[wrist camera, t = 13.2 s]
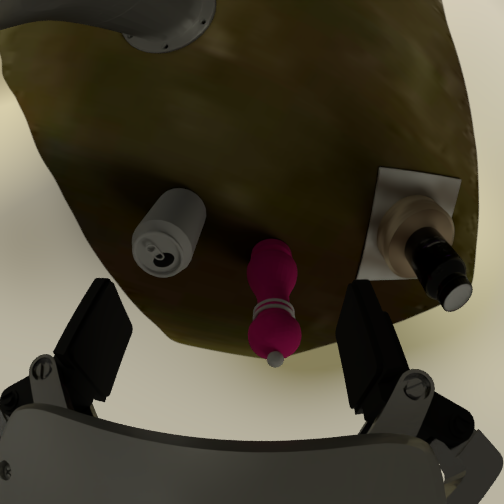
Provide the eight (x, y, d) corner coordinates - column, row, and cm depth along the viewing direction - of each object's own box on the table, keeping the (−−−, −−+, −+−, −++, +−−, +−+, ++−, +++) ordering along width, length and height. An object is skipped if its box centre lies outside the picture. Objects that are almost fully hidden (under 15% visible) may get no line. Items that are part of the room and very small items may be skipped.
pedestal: (379, 166, 34) (392, 177, 31) (459, 179, 34) (475, 190, 30) (356, 279, 46) (363, 296, 42) (428, 276, 45) (438, 292, 41)
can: (176, 239, 42) (153, 290, 32) (149, 200, 38) (114, 244, 28) (216, 219, 40) (202, 269, 30) (189, 176, 36) (162, 215, 26)
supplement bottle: (426, 216, 33) (471, 266, 23) (445, 241, 35) (484, 291, 25) (394, 247, 36) (429, 305, 26) (415, 270, 39) (447, 324, 29)
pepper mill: (298, 237, 41) (318, 347, 25) (290, 275, 45) (301, 383, 29) (250, 233, 41) (242, 343, 25) (246, 271, 45) (238, 380, 29)
